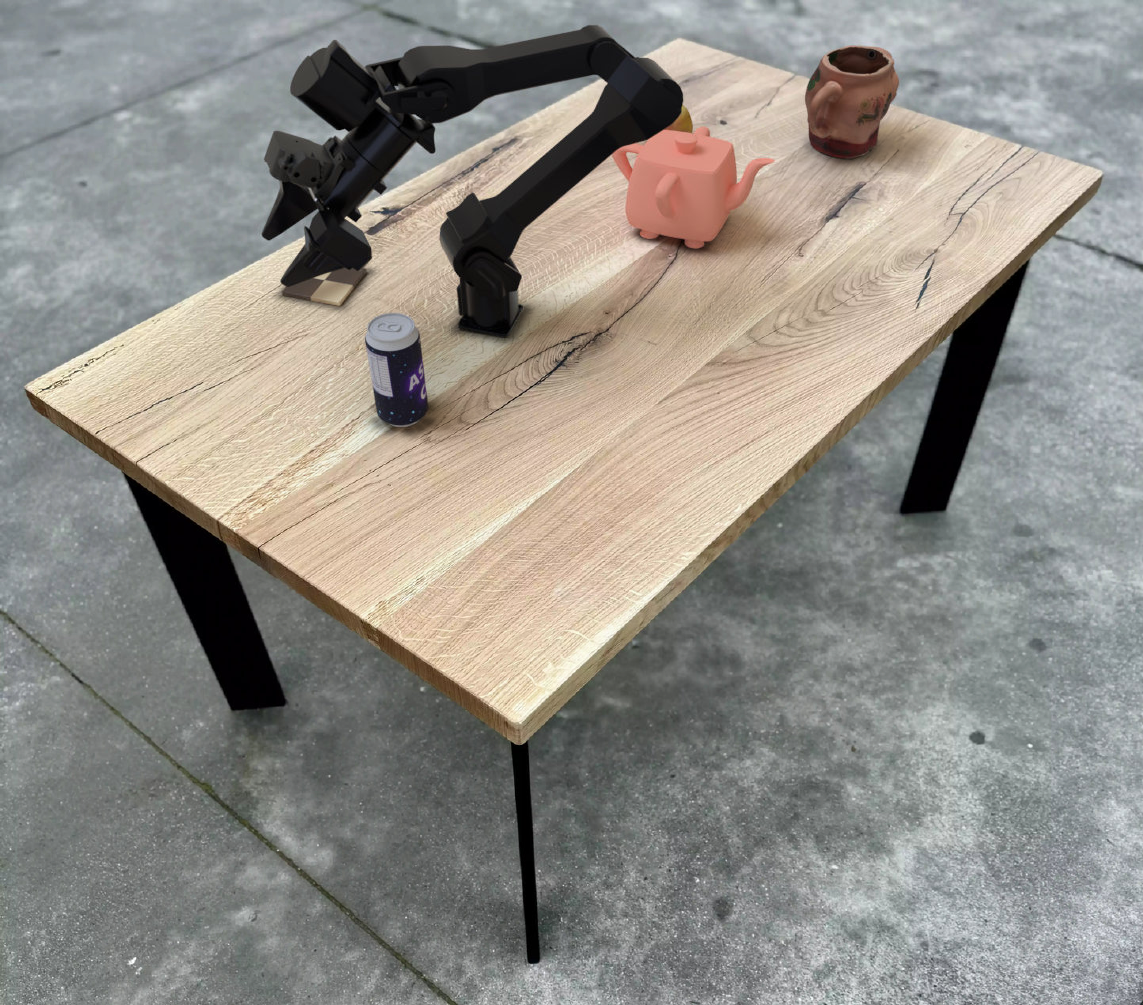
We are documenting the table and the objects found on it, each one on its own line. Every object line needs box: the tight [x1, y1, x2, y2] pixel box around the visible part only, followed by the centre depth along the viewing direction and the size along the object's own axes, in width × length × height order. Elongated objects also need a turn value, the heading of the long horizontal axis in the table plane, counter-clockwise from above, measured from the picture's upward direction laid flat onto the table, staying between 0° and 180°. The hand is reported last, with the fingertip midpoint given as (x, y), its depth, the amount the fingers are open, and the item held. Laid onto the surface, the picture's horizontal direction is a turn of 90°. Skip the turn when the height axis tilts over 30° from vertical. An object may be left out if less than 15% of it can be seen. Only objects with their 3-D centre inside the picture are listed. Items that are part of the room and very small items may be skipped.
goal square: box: [281, 267, 368, 307], centre depth 140 cm, size 8×8×1 cm
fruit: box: [664, 105, 694, 133], centre depth 164 cm, size 7×7×10 cm
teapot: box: [611, 126, 776, 249], centre depth 145 cm, size 17×16×13 cm
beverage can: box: [364, 312, 429, 428], centre depth 117 cm, size 6×6×12 cm
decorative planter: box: [804, 44, 900, 159], centre depth 161 cm, size 20×12×14 cm, turn 143°
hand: (274, 260), depth 119 cm, fingers open, 9 cm apart
